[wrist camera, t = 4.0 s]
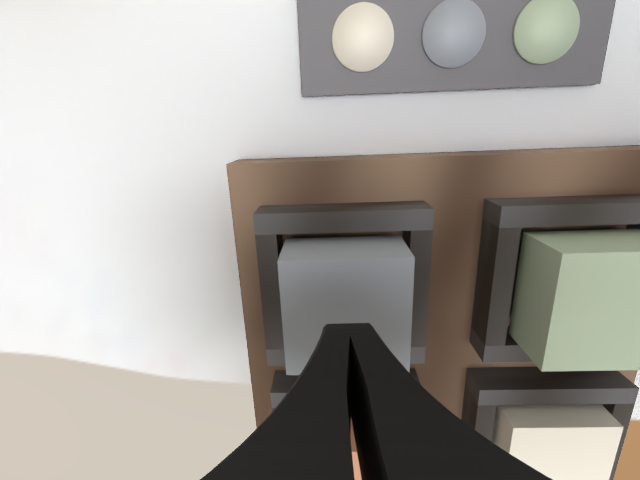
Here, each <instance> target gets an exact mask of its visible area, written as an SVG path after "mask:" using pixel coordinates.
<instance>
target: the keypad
mask: <svg viewBox="0 0 640 480" xmlns="http://www.w3.org/2000/svg"><path fill="white" fill-rule="evenodd" d="M226 165H227V174H228V182H229V191H230V200H231V209H232V217H233V226H234V235H235V243H236V252H237V261H238V269H239V278H240V287H241V295H242V304H243V313H244V321H245V330H246V339H247V347H248V356H249V365H250V373H251V382H252V390H253V399H254V408H255V417H256V425H257V428H258V427H259V426H260V425H261V423H262V422H263V421H264V420H265V419H266V418H267V417H268V416H269V415H270V414H271V412H272V411H273V410H274V409H275V408H276V406H277V405H278V404H279V403H280V402H281V400H282V399H283V398H284V396H285V395H286V394H287V392H288V391H289V390H290V388H291V387H292V386H293V384H294V382H295V381H296V379H297V378H298V376H299V375H286V365H285V353H284V340H283V327H282V315H281V302H280V289H279V277H278V264H277V261H278V258H279V255H280V253H281V250H282V248H283V245H284V242H285V240H286V239H293V238H329V237H364V236H400V235H401V237H402V239H403V240H404V242H405V243H406V245H407V246H408V248H409V249H410V251H411V252H412V254H413V255H414V257H415V266H414V288H413V309H412V330H411V352H410V374H411V375H412V376H413V377H414V378H415V379H416V380H417V381H418V382H419V383H420V384H421V385H422V386H423V387H424V388H425V389H426V390H427V391H428V392H429V393H430V394H431V395H432V396H433V397H434V398H435V399H436V400H438V401H439V402H440V403H441V404H442V405H443V406H445V407H446V408H447V409H448V410H449V411H451V412H452V413H453V414H454V415H456V416H457V417H458V418H459V419H461V420H462V421H463V422H465V423H466V424H467V425H469V426H470V427H471V428H473V429H474V430H476V431H477V432H478V433H480V434H481V435H483V436H484V437H485V438H487V439H488V440H490V441H491V442H492V435H493V428H494V421H495V414H496V406H497V405H568V404H602V405H603V406H604V407H605V408H606V409H607V411H608V412H609V413H610V414H611V415H612V416H613V417H614V418H615V419H616V420H617V421H618V422H619V423H620V424H621V425H622V426H623V427H624V428H623V432H622V435H621V439H620V442H619V446H618V449H617V453H616V457H615V460H614V464H613V467H612V471H611V474H610V478H609V480H613V477H614V474H615V471H616V467H617V464H618V460H619V457H620V453H621V449H622V446H623V443H624V439H625V436H626V432H627V428H628V425H629V422H630V418H631V415H632V411H633V408H634V404H635V401H636V397H637V394H638V390H639V388H638V387H637V386H636V385H635V384H634V381H635V377H636V373H637V370H614V371H545V372H541V370H540V369H539V368H538V367H537V366H536V365H535V363H534V362H533V361H532V360H531V359H530V358H529V356H528V355H527V354H526V353H525V352H524V351H523V350H522V348H521V347H520V346H519V345H518V344H517V343H516V341H515V340H514V339H513V338H512V337H511V336H510V335H509V328H510V321H511V314H512V307H513V300H514V293H515V286H516V279H517V272H518V265H519V258H520V250H521V243H522V236H523V232H542V231H577V230H613V229H640V145H632V146H605V147H577V148H549V149H522V150H494V151H467V152H439V153H411V154H384V155H356V156H328V157H301V158H273V159H245V160H237V161H234V162H231V163H229V164H226Z"/></svg>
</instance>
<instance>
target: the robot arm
mask: <svg viewBox="0 0 640 480" xmlns="http://www.w3.org/2000/svg"><path fill="white" fill-rule="evenodd" d="M351 419H352V425H353V431H354V437H355V443H356V449H357V455H358V461H359V467H360V472H361V478H362V480H553V479H551V478H549V477H547V476H545V475H544V474H542V473H540V472H539V471H537V470H535V469H534V468H532V467H530V466H529V465H527V464H525V463H524V462H522V461H521V460H519V459H517V458H516V457H514V456H512V455H511V454H509V453H508V452H506V451H505V450H503V449H502V448H500V447H499V446H497V445H496V444H494V443H492V442H491V441H490V440H488V439H487V438H485V437H484V436H483V435H481V434H480V433H478V432H477V431H476V430H474V429H473V428H471V427H470V426H469V425H467V424H466V423H465V422H463V421H462V420H461V419H459V418H458V417H457V416H456V415H454V414H453V413H452V412H451V411H449V410H448V409H447V408H446V407H445V406H443V405H442V404H441V403H440V402H439V401H438V400H436V399H435V398H434V397H433V396H432V395H431V394H430V393H429V392H428V391H427V390H426V389H425V388H424V387H423V386H422V385H421V384H420V383H419V382H418V381H417V380H416V379H415V378H414V377H413V376H412V375H411V374H410V373H409V372H408V371H407V370H406V368H405V367H404V366H403V365H402V364H401V363H400V362H399V360H398V359H397V358H396V357H395V356H394V355H393V353H392V352H391V351H390V350H389V348H388V347H387V346H386V344H385V343H384V342H383V340H382V339H381V338H380V336H379V335H378V333H377V332H376V330H375V329H374V327H373V326H372V325H371V324H370V323H341V324H326V325H325V326H324V327H323V330H322V333H321V336H320V339H319V341H318V343H317V345H316V347H315V349H314V351H313V353H312V355H311V357H310V358H309V360H308V362H307V364H306V366H305V367H304V369H303V370H302V372H301V373H300V375H299V376H298V378H297V379H296V381H295V382H294V384H293V386H292V387H291V388H290V390H289V391H288V392H287V394H286V395H285V396H284V398H283V399H282V400H281V402H280V403H279V404H278V405H277V406H276V408H275V409H274V410H273V411H272V412H271V414H270V415H269V416H268V417H267V418H266V419H265V420H264V421H263V422H262V423H261V425H260V426H259V427H258V428H257V429H256V430H255V431H254V432H253V433H252V434H251V435H250V436H249V437H248V438H247V439H246V440H245V441H244V442H243V443H242V444H241V445H240V446H239V447H238V448H236V449H235V450H234V451H233V452H232V453H231V454H230V455H229V456H228V457H226V458H225V459H224V460H223V461H222V462H221V463H220V464H218V466H216V467H215V468H214V469H213V470H212V471H210V472H209V473H208V474H207V475H206V476H204V477H203V478H202V479H200V480H355V479H354V469H353V459H352V449H351V438H350V434H351Z"/></svg>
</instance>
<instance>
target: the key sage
mask: <svg viewBox="0 0 640 480" xmlns="http://www.w3.org/2000/svg"><path fill="white" fill-rule="evenodd" d="M509 335H510V336H511V337H512V338H513V339H514V340H515V341H516V343H517V344H518V345H519V346H520V347H521V348H522V350H523V351H524V352H525V353H526V354H527V355H528V356H529V358H530V359H531V360H532V361H533V362H534V363H535V365H536V366H537V367H538V368H539V369H540V370H541V372H545V371H614V370H640V229H613V230H577V231H542V232H523V236H522V243H521V250H520V258H519V265H518V272H517V279H516V286H515V293H514V300H513V307H512V314H511V321H510V328H509Z"/></svg>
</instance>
